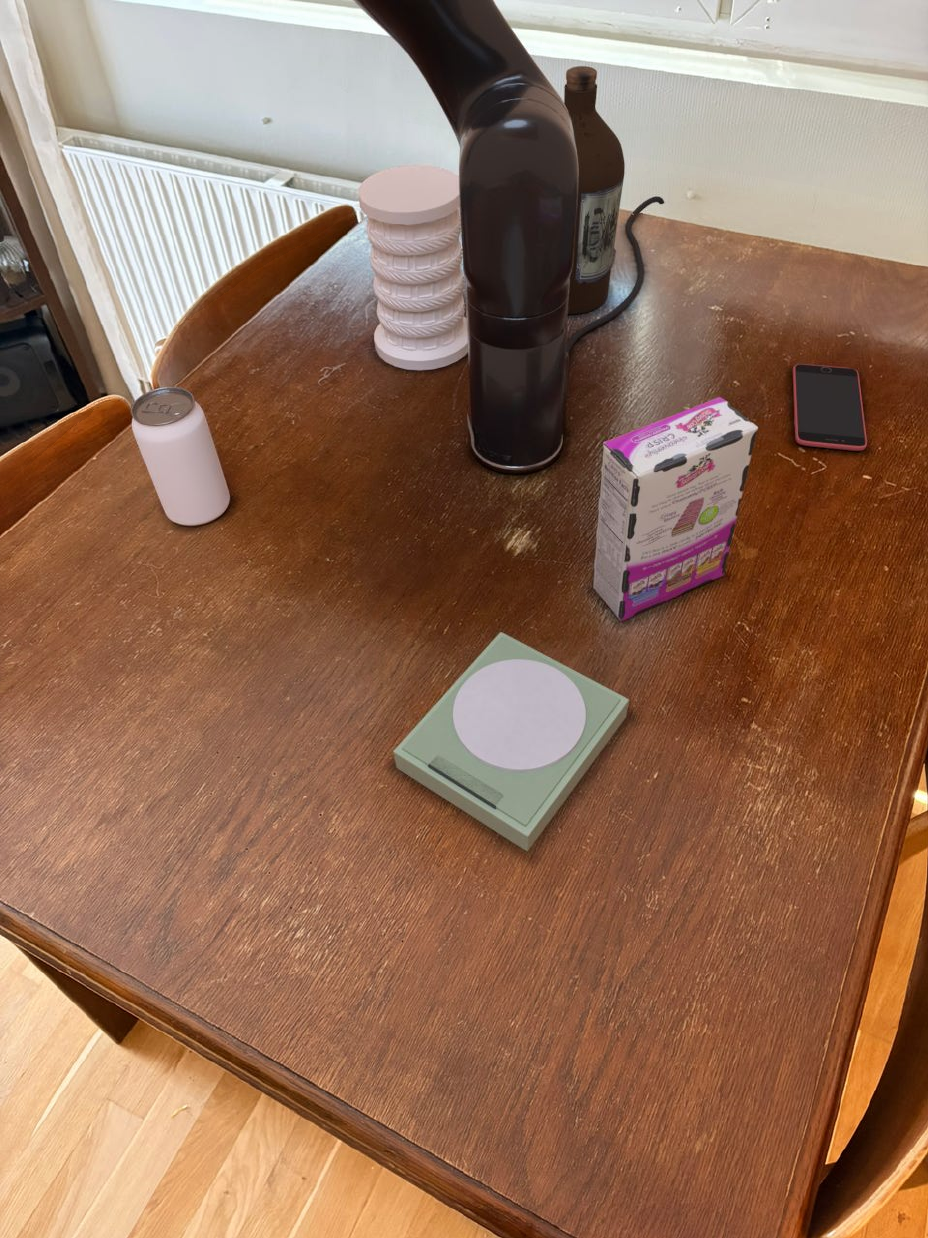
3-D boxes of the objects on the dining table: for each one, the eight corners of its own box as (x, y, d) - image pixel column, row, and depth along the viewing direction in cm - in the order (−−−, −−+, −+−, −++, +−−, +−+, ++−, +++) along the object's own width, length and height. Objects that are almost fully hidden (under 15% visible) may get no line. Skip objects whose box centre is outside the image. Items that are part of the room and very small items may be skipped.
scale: (500, 649, 75) (500, 624, 73) (626, 717, 70) (630, 693, 68) (395, 768, 68) (391, 745, 66) (527, 852, 63) (527, 831, 61)
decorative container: (355, 342, 106) (331, 189, 93) (429, 305, 111) (416, 153, 98) (418, 382, 101) (403, 225, 87) (493, 341, 105) (489, 185, 92)
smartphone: (859, 367, 98) (868, 448, 89) (857, 372, 98) (867, 452, 89) (792, 362, 99) (795, 441, 90) (791, 366, 99) (794, 445, 90)
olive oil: (509, 296, 112) (508, 73, 93) (566, 264, 116) (576, 45, 97) (573, 328, 106) (587, 98, 87) (630, 293, 111) (655, 67, 92)
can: (216, 532, 86) (181, 430, 77) (154, 524, 87) (112, 423, 78) (241, 487, 90) (210, 386, 81) (181, 481, 91) (144, 380, 82)
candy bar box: (690, 543, 82) (721, 392, 70) (724, 577, 79) (763, 427, 67) (587, 587, 79) (600, 438, 67) (618, 624, 76) (639, 476, 64)
